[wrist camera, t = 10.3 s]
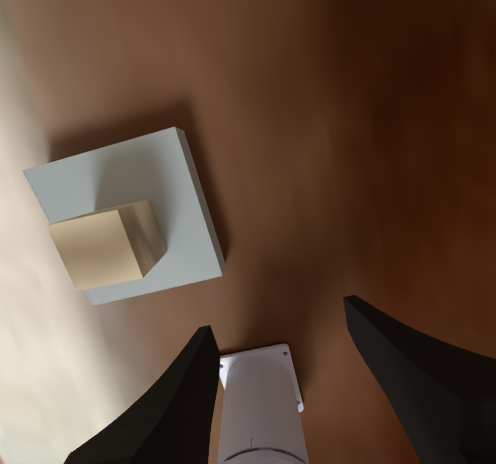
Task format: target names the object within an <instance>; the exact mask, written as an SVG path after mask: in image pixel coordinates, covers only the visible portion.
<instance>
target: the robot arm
mask: <svg viewBox="0 0 496 464" xmlns="http://www.w3.org/2000/svg"><path fill="white" fill-rule="evenodd" d="M343 300H344V307H345V313H346V320H347V326H348V331H349V333H350V335H351V337H352V339H353V341H354V343H355V345H356V347H357V349H358V351H359V353H360V354H361V356H362V357H363V359H364V361H365V362H366V364H367V365H368V367H369V369H370V370H371V372H372V373H373V375H374V376H375V378H376V380H377V381H378V383H379V384H380V386H381V388H382V389H383V391H384V392H385V394H386V396H387V398H388V399H389V401H390V403H391V405H392V407H393V409H394V411H395V413H396V414H397V416H398V418H399V420H400V422H401V424H402V426H403V428H404V430H405V432H406V434H407V436H408V438H409V440H410V442H411V444H412V446H413V448H414V450H415V452H416V454H417V456H418V458H419V460H420V462H421V464H496V359H493V358H490V357H487V356H483V355H480V354H477V353H474V352H471V351H468V350H465V349H462V348H459V347H456V346H454V345H451V344H448V343H445V342H443V341H440V340H438V339H435V338H433V337H431V336H428V335H426V334H424V333H422V332H419V331H417V330H415V329H413V328H411V327H409V326H407V325H405V324H403V323H401V322H399V321H397V320H396V319H394V318H392V317H390V316H388V315H387V314H385V313H383V312H382V311H380V310H378V309H377V308H375V307H373V306H372V305H370V304H369V303H367V302H365V301H364V300H362V299H361V298H359V297H358V296H356V295H352V296H347V297H343ZM284 352H286V353H284ZM220 364H222V365H220ZM219 376H220V378H221V381H222V384H223V387H224V389H225V396H224V405H223V414H222V423H221V433H220V442H219V451H218V460H217V462H215V463H214V464H309V461H308V455H307V450H306V445H305V440H304V435H303V430H302V425H301V420H300V415H299V412H301V411H303V409H304V407H303V403H302V399H301V395H300V391H299V387H298V382H297V378H296V374H295V370H294V366H293V362H292V358H291V354H290V350H289V346H288V345H287V344H279V345H274V346H268V347H263V348H258V349H253V350H248V351H243V352H238V353H233V354H228V355H223V356H220V352H219V349H218V346H217V344H216V341H215V338H214V335H213V332H212V329H211V326H210V325H208V326H203V327H199V328H198V330H197V331H196V332H195V334H194V335H193V336H192V338H191V339H190V340H189V342H188V343H187V345H186V346H185V347H184V349H183V350H182V351H181V352H180V354H179V355H178V356H177V358H176V359H175V360H174V361H173V363H172V364H171V365H170V366H169V367H168V369H167V370H166V371H165V372H164V373H163V375H162V376H161V377H160V378H159V379H158V380H157V381H156V382H155V383H154V384H153V385H152V386H151V387H150V388H149V390H148V391H147V392H146V393H145V394H144V395H142V396H141V397H140V398H139V399H138V400H137V401H136V402H135V403H134V404H133V405H132V406H131V407H129V408H128V409H127V410H126V411H125V412H124V413H123V414H121V415H120V416H119V417H118V418H117V419H116V420H114V421H113V422H112V423H111V424H109V425H108V426H107V427H106V428H104V429H103V430H102V431H100V432H99V433H98V434H96V435H95V436H94V437H92V438H91V439H89V440H88V441H87V442H85V443H84V444H83V445H81V446H80V447H78V448H77V449H76V450H74V451H73V452H71V453H70V454H69V456H68V457H67V459H66V461H65V462H64V464H208V456H209V443H210V431H211V424H212V417H213V411H214V406H215V400H216V394H217V388H218V382H219Z"/></svg>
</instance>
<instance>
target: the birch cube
mask: <svg viewBox="0 0 496 464" xmlns="http://www.w3.org/2000/svg"><path fill="white" fill-rule="evenodd" d="M46 226H47V228H48V231H49V233H50V235H51V237H52V239H53V241H54V243H55V246H56V248H57V250H58V252H59V254H60V256H61V258H62V260H63V263H64V265H65V267H66V269H67V271H68V273H69V275H70V277H71V280H72V282H73V284H74V286H75V288H76V290H77V291H81V290H86V289H91V288H96V287H101V286H106V285H111V284H116V283H121V282H126V281H131V280H136V279H141V278H144V276H145V275H146V274H147V273H148V272H149V271H150V270H151V269H152V268H153V267H154V266H155V265H156V264H157V263H158V262H159V261H160V259H161V258H162V257H163V256H164V255H165V254H166V253H167V251H166V248H165V245H164V242H163V239H162V236H161V233H160V230H159V227H158V224H157V221H156V218H155V215H154V212H153V209H152V206H151V203H150V200H149V199H146V200H142V201H137V202H133V203H128V204H124V205H119V206H115V207H110V208H106V209H101V210H97V211H93V212H90V213H86V214H83V215H80V216H76V217H73V218H70V219H66V220H63V221H60V222H56V223H53V224H50V225H46Z"/></svg>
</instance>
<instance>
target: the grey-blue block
mask: <svg viewBox="0 0 496 464" xmlns="http://www.w3.org/2000/svg"><path fill="white" fill-rule="evenodd" d="M23 172H24V174H25V176H26V178H27V180H28V182H29V184H30V186H31V188H32V190H33V192H34V194H35V196H36V197H37V199H38V201H39V203H40V205H41V207H42V209H43V211H44V213H45V215H46V217H47V219H48V221H49V223H50V224H53V223H56V222H60V221H63V220H66V219H70V218H73V217H76V216H80V215H83V214H86V213H90V212H93V211H97V210H101V209H106V208H110V207H115V206H119V205H124V204H128V203H133V202H137V201H142V200H146V199H149V200H150V203H151V206H152V209H153V212H154V215H155V218H156V221H157V224H158V227H159V230H160V233H161V236H162V239H163V242H164V245H165V248H166V251H167V253H166V254H165V255H164V256H163V257H162V258H161V259H160V261H159V262H158V263H157V264H156V265H155V266H154V267H153V268H152V269H151V270H150V271H149V272H148V273H147V274H146V275H145V276H144V278H141V279H136V280H131V281H126V282H121V283H116V284H111V285H106V286H101V287H96V288H91V289H86V290H85V292H86V294H87V296H88V298H89V300H90V302H91V304H92V306H94V305H99V304H103V303H107V302H112V301H116V300H120V299H125V298H129V297H133V296H138V295H142V294H146V293H151V292H155V291H159V290H163V289H168V288H172V287H176V286H181V285H185V284H189V283H194V282H198V281H202V280H207V279H211V278H215V277H220V276H223V272H224V267H225V261H224V258H223V254H222V251H221V248H220V245H219V242H218V238H217V235H216V232H215V229H214V226H213V222H212V219H211V216H210V213H209V209H208V206H207V203H206V200H205V197H204V193H203V190H202V187H201V184H200V180H199V177H198V174H197V171H196V168H195V164H194V161H193V158H192V155H191V151H190V148H189V145H188V142H187V139H186V135H185V132H184V131H183V130H181V129H179V128H177V127H172V128H168V129H165V130H161V131H158V132H154V133H151V134H148V135H144V136H141V137H137V138H134V139H130V140H127V141H123V142H120V143H116V144H113V145H109V146H106V147H102V148H99V149H96V150H92V151H89V152H85V153H82V154H78V155H75V156H71V157H68V158H64V159H61V160H57V161H54V162H50V163H47V164H44V165H40V166H37V167H33V168H30V169H26V170H23Z"/></svg>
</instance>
